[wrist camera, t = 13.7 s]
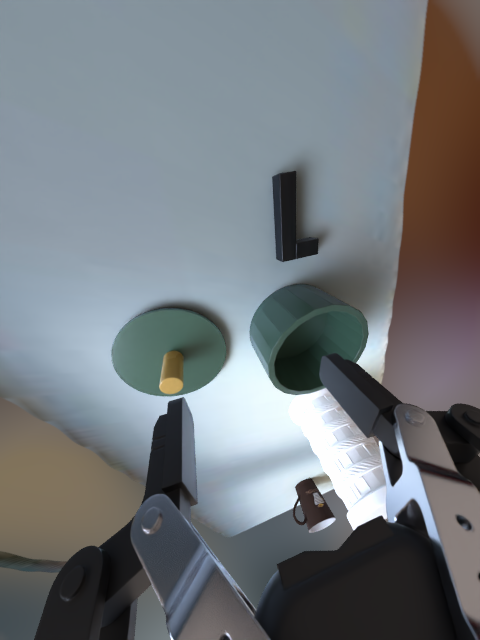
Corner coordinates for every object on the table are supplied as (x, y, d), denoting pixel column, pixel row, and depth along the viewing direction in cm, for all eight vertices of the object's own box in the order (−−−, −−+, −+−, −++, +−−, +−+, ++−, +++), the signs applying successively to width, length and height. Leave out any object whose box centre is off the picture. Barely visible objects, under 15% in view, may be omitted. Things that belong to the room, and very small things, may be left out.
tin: (243, 296, 25) (263, 323, 19) (333, 274, 27) (379, 292, 21) (254, 369, 32) (272, 406, 26) (325, 347, 34) (358, 377, 28)
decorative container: (291, 426, 44) (348, 538, 29) (285, 397, 38) (353, 518, 23) (335, 407, 45) (413, 505, 30) (336, 375, 39) (434, 478, 24)
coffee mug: (320, 477, 65) (340, 517, 56) (302, 491, 66) (319, 531, 58) (300, 474, 59) (319, 518, 50) (281, 489, 61) (297, 534, 52)
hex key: (272, 176, 20) (279, 173, 18) (312, 170, 20) (323, 166, 19) (276, 259, 24) (282, 262, 22) (309, 251, 25) (317, 254, 23)
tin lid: (90, 323, 22) (60, 356, 17) (213, 293, 24) (221, 314, 19) (142, 402, 29) (132, 441, 24) (232, 374, 31) (241, 405, 26)
